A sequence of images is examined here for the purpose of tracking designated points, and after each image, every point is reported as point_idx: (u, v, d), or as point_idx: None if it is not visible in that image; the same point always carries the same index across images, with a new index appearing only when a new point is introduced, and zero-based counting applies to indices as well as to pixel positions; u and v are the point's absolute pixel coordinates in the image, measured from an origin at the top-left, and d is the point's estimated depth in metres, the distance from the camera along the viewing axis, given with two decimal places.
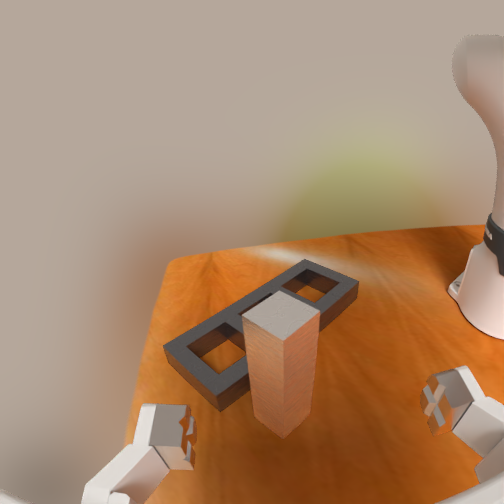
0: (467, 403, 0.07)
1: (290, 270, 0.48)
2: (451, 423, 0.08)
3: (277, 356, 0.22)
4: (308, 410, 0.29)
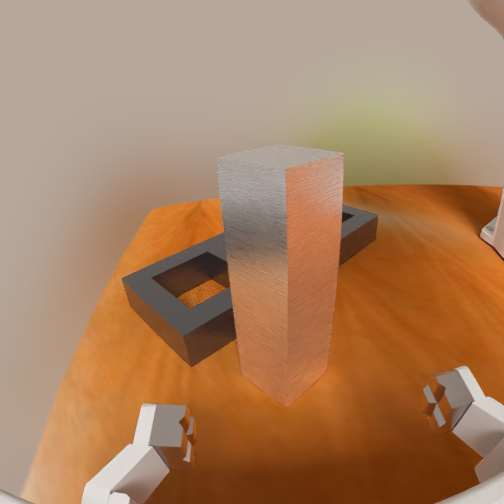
0: (467, 403, 0.07)
1: None
2: (451, 423, 0.08)
3: (275, 214, 0.12)
4: (325, 362, 0.19)
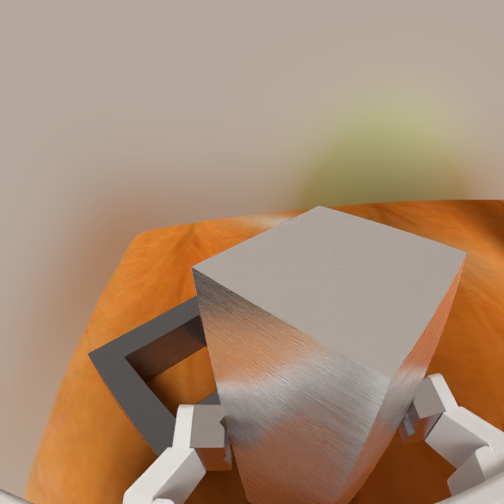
0: (437, 413, 0.07)
1: None
2: (422, 432, 0.08)
3: (334, 433, 0.05)
4: (358, 489, 0.12)
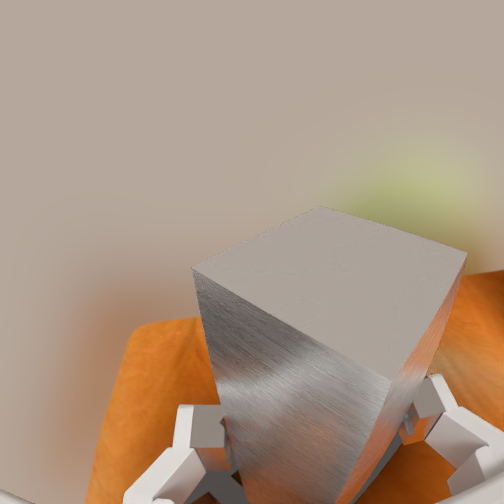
0: (437, 413, 0.07)
1: None
2: (422, 433, 0.08)
3: (335, 434, 0.05)
4: (358, 490, 0.12)
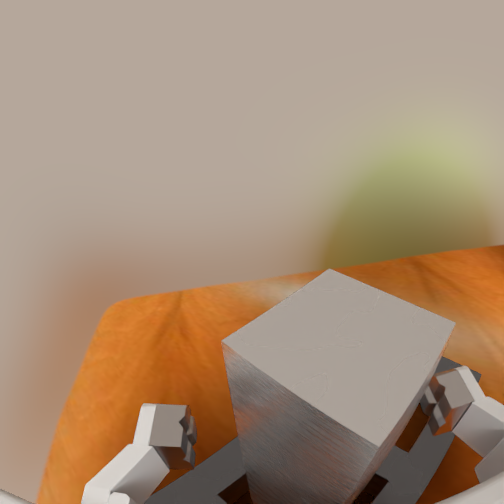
0: (467, 403, 0.07)
1: None
2: (451, 423, 0.08)
3: (336, 470, 0.06)
4: (354, 499, 0.13)
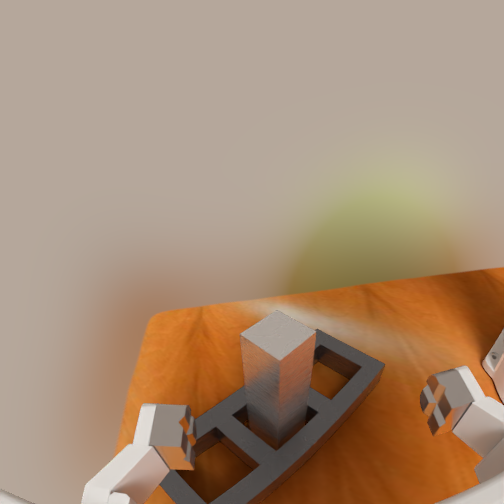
0: (467, 403, 0.07)
1: None
2: (451, 423, 0.08)
3: (273, 374, 0.22)
4: (302, 424, 0.29)
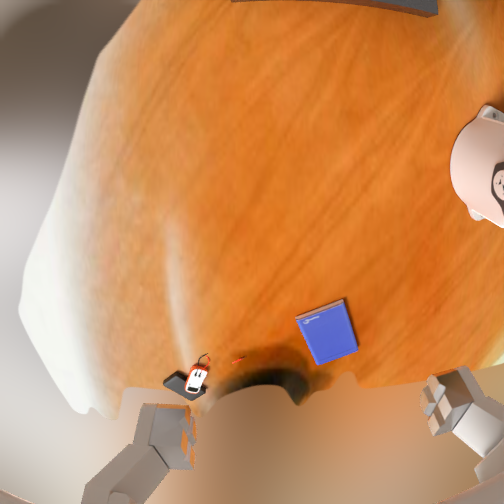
0: (467, 403, 0.07)
1: None
2: (451, 423, 0.08)
3: None
4: None
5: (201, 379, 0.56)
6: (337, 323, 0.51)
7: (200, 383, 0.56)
